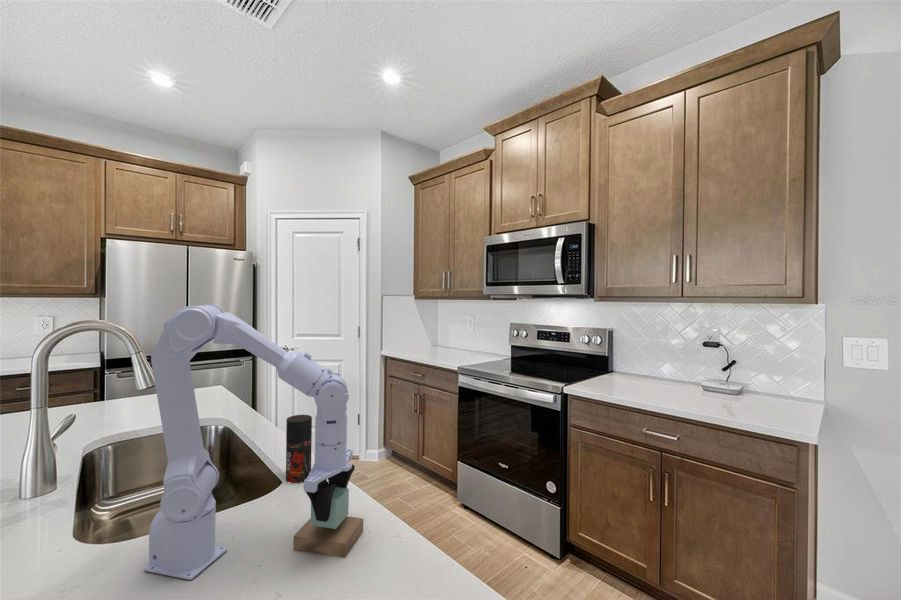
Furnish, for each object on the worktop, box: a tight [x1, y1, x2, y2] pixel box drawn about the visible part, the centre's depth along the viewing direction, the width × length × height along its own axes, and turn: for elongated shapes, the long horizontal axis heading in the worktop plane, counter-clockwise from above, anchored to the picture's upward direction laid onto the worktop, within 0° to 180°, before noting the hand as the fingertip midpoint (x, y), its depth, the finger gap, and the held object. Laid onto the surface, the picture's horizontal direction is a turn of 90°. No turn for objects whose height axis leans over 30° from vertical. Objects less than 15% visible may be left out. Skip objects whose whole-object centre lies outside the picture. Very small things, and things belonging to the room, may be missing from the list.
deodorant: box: [285, 414, 313, 484], centre depth 100 cm, size 6×6×15 cm
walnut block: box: [292, 515, 364, 559], centre depth 76 cm, size 10×8×3 cm
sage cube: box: [310, 487, 350, 529], centre depth 76 cm, size 5×5×5 cm
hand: (329, 511), depth 76 cm, fingers closed on sage cube, 5 cm apart
